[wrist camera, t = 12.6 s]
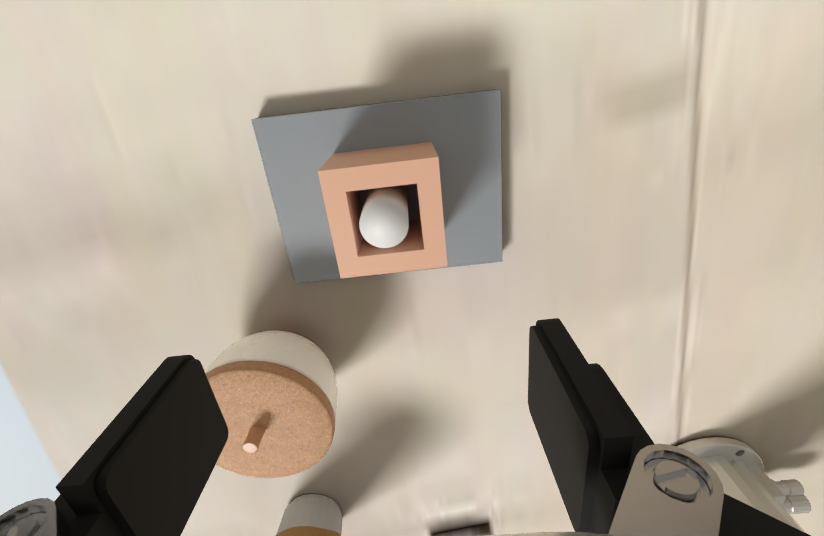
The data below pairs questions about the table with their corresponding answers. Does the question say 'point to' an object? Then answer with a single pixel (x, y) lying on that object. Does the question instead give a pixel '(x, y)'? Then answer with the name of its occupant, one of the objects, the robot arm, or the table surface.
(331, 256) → the board
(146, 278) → the table surface
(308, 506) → the coffee cup
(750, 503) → the robot arm
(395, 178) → the collar
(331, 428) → the lidded jar
